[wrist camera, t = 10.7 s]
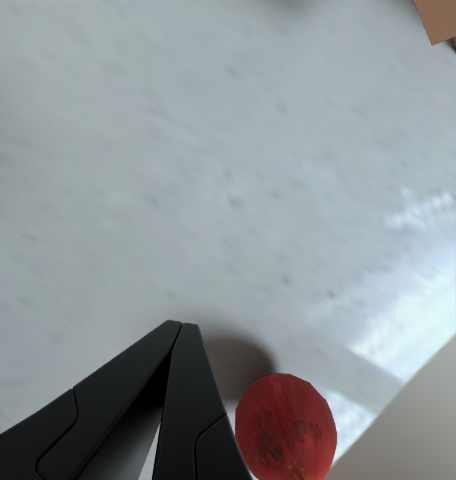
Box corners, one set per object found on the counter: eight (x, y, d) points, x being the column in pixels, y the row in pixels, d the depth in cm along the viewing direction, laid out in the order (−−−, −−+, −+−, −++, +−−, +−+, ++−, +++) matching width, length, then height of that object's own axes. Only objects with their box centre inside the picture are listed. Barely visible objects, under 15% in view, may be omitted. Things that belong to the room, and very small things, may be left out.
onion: (208, 387, 23) (225, 507, 15) (273, 332, 23) (324, 426, 15) (262, 434, 25) (301, 563, 17) (323, 383, 24) (391, 492, 17)
